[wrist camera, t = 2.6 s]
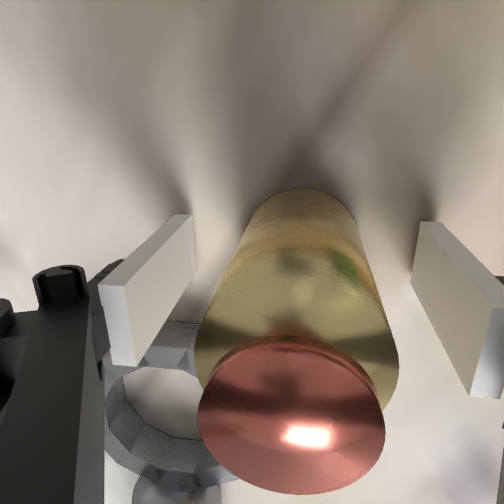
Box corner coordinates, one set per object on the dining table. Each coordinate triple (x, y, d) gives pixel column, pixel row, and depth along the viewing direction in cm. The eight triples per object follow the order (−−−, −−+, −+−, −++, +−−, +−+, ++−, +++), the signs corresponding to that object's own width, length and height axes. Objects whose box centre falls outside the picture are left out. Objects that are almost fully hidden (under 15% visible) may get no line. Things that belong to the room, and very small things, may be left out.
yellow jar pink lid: (244, 187, 16) (155, 316, 7) (364, 189, 15) (442, 337, 6) (246, 289, 18) (179, 497, 9) (353, 296, 17) (400, 528, 8)
